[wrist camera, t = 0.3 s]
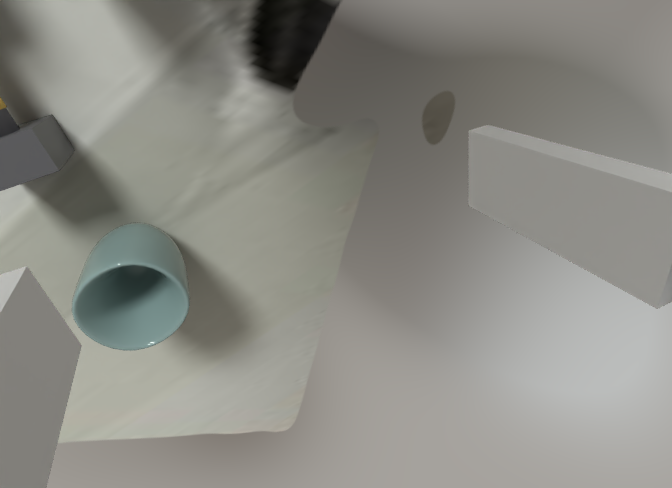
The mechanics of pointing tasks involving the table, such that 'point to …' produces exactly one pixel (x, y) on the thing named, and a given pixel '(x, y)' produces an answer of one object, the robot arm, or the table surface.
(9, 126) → the grey rod
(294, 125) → the table surface
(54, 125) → the block
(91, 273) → the cup
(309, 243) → the table surface
